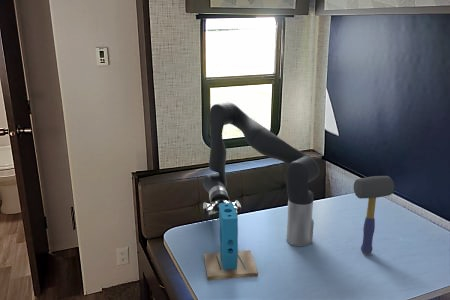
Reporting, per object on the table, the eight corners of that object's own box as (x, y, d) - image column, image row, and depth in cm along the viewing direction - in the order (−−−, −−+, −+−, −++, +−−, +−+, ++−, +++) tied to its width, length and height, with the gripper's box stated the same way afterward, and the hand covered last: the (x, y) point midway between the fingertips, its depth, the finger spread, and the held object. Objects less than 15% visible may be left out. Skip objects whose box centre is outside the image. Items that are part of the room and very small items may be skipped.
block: (238, 271, 146) (238, 218, 140) (223, 273, 145) (222, 219, 139) (233, 252, 157) (232, 202, 151) (219, 253, 157) (218, 203, 150)
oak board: (250, 253, 159) (250, 250, 159) (258, 276, 146) (258, 272, 146) (204, 257, 157) (204, 253, 157) (207, 280, 144) (207, 276, 144)
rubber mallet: (375, 245, 164) (384, 171, 155) (387, 256, 157) (397, 179, 148) (345, 250, 162) (352, 174, 152) (356, 261, 155) (364, 182, 145)
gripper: (201, 190, 174) (204, 208, 158) (236, 188, 175) (243, 205, 160) (201, 207, 176) (204, 226, 161) (236, 205, 178) (242, 224, 162)
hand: (223, 216), depth 160 cm, fingers open, 8 cm apart
